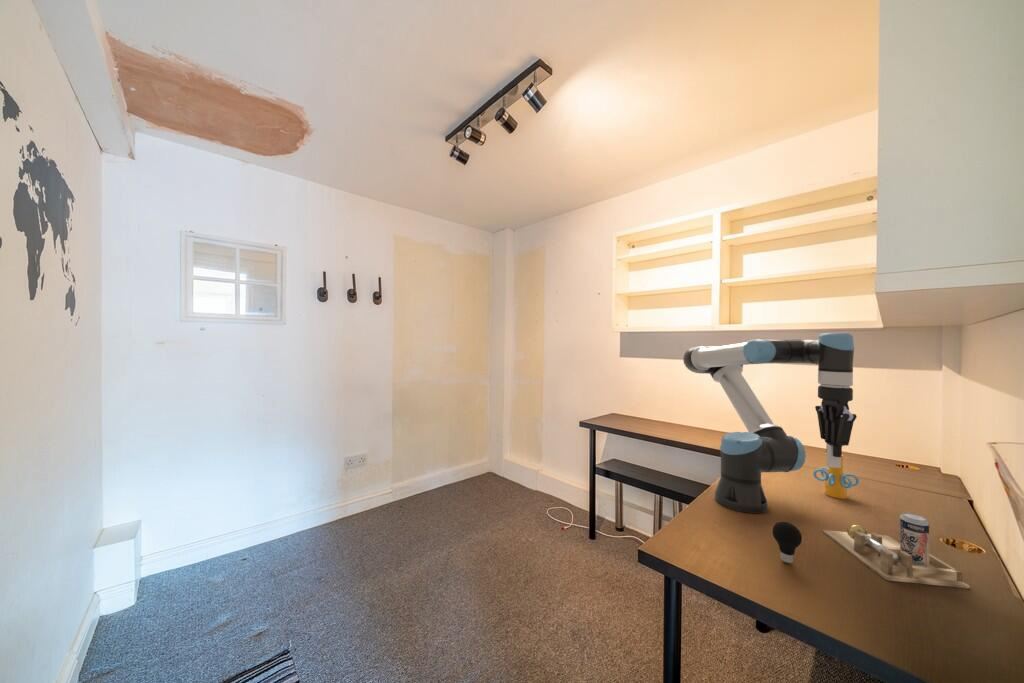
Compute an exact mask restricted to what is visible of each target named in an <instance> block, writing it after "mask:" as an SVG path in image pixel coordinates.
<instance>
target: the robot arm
mask: <svg viewBox="0 0 1024 683" xmlns="http://www.w3.org/2000/svg"><path fill="white" fill-rule="evenodd" d="M854 343H855V342H854V335H853V334H851V333H850V332H849V333H848V332H821V333H819V335H818V339H798V338H797V339H796V338H795V339H794V338H793V339H766V338H756V339H750V340H748V341H746V342H741V343H732V344H727V345H726V344H725V345H719V346H712V345H711V346H710V345H708V346H707V345H706V346H705V345H700V346H699V345H697V346H693V347H690V348H688V349H687V350H686V351H685V352H684V354H683V364H684V366H685V367H686V369H687V370H689V371H690V372H692V373H695V374H707V375H709V374H710V377H711V378H712V379H713V381H714V382H716V383H719V384H720V386H721V387H722V389H723V391H724V392H725V394H726V396H727V397H728V399H729V401H730V403H731V405H732V406H733V408H734V409H735V411H736V413H737V415H738V416H739V418H740V420H741V422H742V423H743V425H744V427H745V428H746V430H747V431H742V432H741V431H734V432H733V431H732V432H728V433H725V434H724V435H723V436H721V439H720V446H719V447H720V449H719V450H720V478H719V481H718V483H717V485H716V488H715V490H714V499H715V501H716V502H717V503H718V504H719V505H722V506H723V507H725V508H728V509H730V510H734V511H738V512H741V513H747V514H762V513H765V512H767V511H768V504H769V503H768V499H767V497H766V494H765V491H764V488H763V485H762V473H789V472H795V471H798V470H800V469H801V468H802V467H803V466H804V464H805V462H806V458H807V457H806V456H807V455H806V450H805V447H804V444H803V443H802V442H801V441H800V440H799V439H798V438H797V437H794V436H792V435H788V434H787V433H786V432H785V430H784V429H783V427H782V426H781V425H780V426H779V425H776V424H775V423H774V422H773V420H772V418H771V417H770V416H769V414H768V413H767V411H766V410H765V408H764V406H763V405H762V404H761V402H760V400H759V399H758V397H757V396H756V394H755V393H754V391H753V389H752V388H751V386H750V385H749V383H748V382H747V381H746V378H745V377H744V376H743V374H742V373H743V371H744V365H745V366H747V365H762V364H810V365H812V364H813V365H817V366H818V367H817V368H818V369H817V371H818V372H817V383H818V384H819V385H818V386H817V397H818V398H819V399H820V400H821V399H822V400H821V404H820V405H815V407H814V408H815V412H816V413H817V414H816V416H817V420H818V421H817V422H818V428H819V435H820V439H821V440H824V442H825V443H826V451H825V452H826V466H827V467H828V466H829V467H833V468H841V456H842V455H843V454H842V453H843V450H842V448H843V446H845V447H846V446H849V444H850V440H851V435H852V431H853V426H854V422H855V420H857V414H856V413H851V411H850V406H849V402H851V401H853V400H854V399H853V398H854V389H853V388H852V386H854V385H853V384H854V381H853V380H854V379H853V378H854V357H855V356H854V354H855V344H854Z"/></svg>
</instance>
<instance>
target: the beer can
mask: <svg viewBox="0 0 1024 683" xmlns="http://www.w3.org/2000/svg"><path fill="white" fill-rule="evenodd" d="M899 520H900V521H899V530H900V532H899V533H900V534H899V540H900V541H899V543H900V551H905V552H906V553H908V554H910V555H911V556H912V566H922V567H929V553H930V523H929V522H928V520H927V519H926V518H925V517H923V515H922V516H921V515H919V514H915V513H911V512H902V514H901V515H900V516H899Z"/></svg>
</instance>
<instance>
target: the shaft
mask: <svg viewBox="0 0 1024 683" xmlns="http://www.w3.org/2000/svg"><path fill="white" fill-rule="evenodd" d="M854 531H857V532H860V533H861V534H863V535H864V536H865V543H866V544H868V545H869V546H871V547H872V548H873V549H875V550H876V551H878V552H879V553H881V549H886V550H887V551H889V552H890V553H892V554H893V562H894V563H899V562H900V561H901V557H900V556H899V555H897V554H896V553H894V552H893V551H891V550H890V549H888V548H887V547H885V546H883V545H882V544H880V543H879V542H877V541H876V540H874V539H873V538H871V537H870V536H868V535H867V534H868V532H867V530H866V529H865V528H864V527H863V526H862V525H859V524H857V523H856V524H851V525H848V527H847V530H846V532H847V533H848V535H849V536H850V537H851V538H852V539H854Z"/></svg>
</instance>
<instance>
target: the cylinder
mask: <svg viewBox="0 0 1024 683" xmlns="http://www.w3.org/2000/svg"><path fill="white" fill-rule="evenodd" d="M818 472H820V475H821V476H822V478H820V477H818V476H817V473H818ZM812 476H813V478H814V479H816V480H817V481H821V482H824V484H823V485H824V489H823V490H824V494H825V495H826V496H829V497H830V498H834V499H839V500H840V499H841V500H842V499H843V500H845V499H847V498H848V489H851V488H852V487H855V486H857V485H859V484H860V480H859V477H858V476H856V475H855V474H853V473H846V474H844V454H842V456H841V468H833V467H829V466H827V467H825V466H824V467H821V468H817V469H815V470H814V471H813V475H812ZM850 477H852V478H853V479H854V480H855V482H854V483H853V481H852V480H851V478H850Z"/></svg>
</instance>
